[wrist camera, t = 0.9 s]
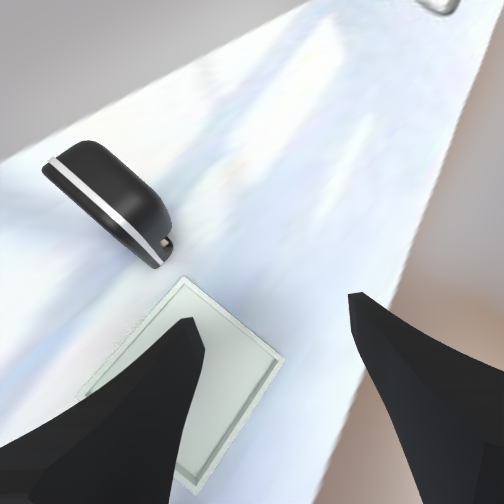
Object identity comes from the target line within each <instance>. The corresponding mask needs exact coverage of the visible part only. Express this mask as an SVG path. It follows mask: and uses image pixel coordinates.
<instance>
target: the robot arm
mask: <svg viewBox="0 0 504 504" xmlns="http://www.w3.org/2000/svg"><path fill="white" fill-rule="evenodd" d="M348 302H349V313H350V324H351V332H352V335H353V338H354V341H355V344H356V346H357V349H358V352H359V354H360V356H361V358H362V360H363V362H364V364H365V366H366V368H367V370H368V372H369V374H370V376H371V378H372V380H373V382H374V384H375V386H376V388H377V390H378V392H379V394H380V396H381V398H382V400H383V402H384V404H385V407H386V409H387V411H388V413H389V416H390V418H391V420H392V423H393V425H394V428H395V430H396V433H397V435H398V438H399V441H400V443H401V445H402V448H403V451H404V453H405V456H406V459H407V461H408V464H409V467H410V469H411V472H412V474H413V477H414V480H415V483H416V485H417V488H418V490H419V494H420V496H421V499H422V502H423V504H504V371H501V370H499V369H497V368H494V367H492V366H489V365H487V364H485V363H483V362H481V361H478V360H476V359H474V358H471V357H469V356H467V355H465V354H463V353H461V352H459V351H456V350H455V349H453V348H451V347H449V346H447V345H445V344H443V343H441V342H439V341H437V340H435V339H433V338H431V337H430V336H428V335H426V334H424V333H422V332H421V331H419V330H417V329H416V328H414V327H413V326H411V325H409V324H408V323H406V322H404V321H403V320H401V319H400V318H398V317H397V316H395V315H394V314H392V313H391V312H390V311H388V310H387V309H385V308H384V307H382V306H381V305H380V304H378V303H377V302H376V301H374V300H373V299H371V298H370V297H369V296H367V295H366V294H364V293H363V292H359V293H352V294H348ZM204 355H205V347H204V344H203V342H202V339H201V336H200V334H199V331H198V329H197V326H196V323H195V321H194V318H193V317H188V318H181V319H180V320H179V321H177V322H176V323H175V324H174V325H173V326H172V327H171V328H170V329H169V330H167V331H166V332H165V333H164V334H163V335H162V336H161V337H160V338H159V339H158V340H157V341H156V342H155V343H154V344H153V345H151V346H150V347H149V348H148V349H147V350H146V351H145V352H144V353H143V354H141V355H140V356H139V357H138V358H137V359H136V360H135V361H133V362H132V363H131V364H130V365H129V366H128V367H127V368H125V369H124V370H123V371H122V372H120V373H119V374H118V375H117V376H115V377H114V378H113V379H111V380H110V381H109V382H107V383H106V384H105V385H103V386H102V387H101V388H99V389H98V390H96V391H95V392H93V393H92V394H90V395H89V396H88V397H86V398H85V399H83V400H82V401H80V402H79V403H77V404H76V405H74V406H73V407H71V408H70V409H68V410H66V411H65V412H63V413H62V414H60V415H58V416H57V417H55V418H53V419H52V420H50V421H48V422H47V423H45V424H43V425H41V426H40V427H38V428H36V429H34V430H33V431H31V432H29V433H27V434H25V435H23V436H22V437H20V438H18V439H16V440H14V441H12V442H10V443H8V444H7V445H5V446H3V447H1V448H0V504H168V503H169V497H170V491H171V486H172V481H173V476H174V470H175V465H176V460H177V455H178V451H179V446H180V442H181V437H182V433H183V429H184V425H185V422H186V418H187V415H188V412H189V409H190V406H191V403H192V400H193V397H194V393H195V390H196V387H197V384H198V381H199V377H200V374H201V371H202V366H203V361H204Z"/></svg>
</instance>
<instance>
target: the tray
mask: <svg viewBox="0 0 504 504" xmlns="http://www.w3.org/2000/svg"><path fill="white" fill-rule="evenodd" d="M188 317H193V318H194V321H195V323H196V326H197V329H198V331H199V334H200V336H201V339H202V342H203V344H204V347H205V355H204V361H203V366H202V371H201V374H200V377H199V381H198V384H197V387H196V390H195V393H194V397H193V400H192V403H191V406H190V409H189V412H188V415H187V418H186V422H185V425H184V429H183V433H182V437H181V442H180V446H179V451H178V455H177V460H176V465H175V470H174V476H173V478H174V479H175V480H176V481H178V482H179V483H180V484H181V485H183V486H184V487H185V488H186V489H187V490H189V491H190V492H191V493H192V494H194V495H195V496H196V497H197V495H198V494H199V492H200V491H201V489H202V488H203V486H204V485H205V483H206V482H207V480H208V479H209V477H210V475H211V474H212V472H213V471H214V469H215V468H216V466H217V465H218V463H219V462H220V460H221V459H222V457H223V455H224V454H225V452H226V451H227V449H228V448H229V446H230V445H231V443H232V442H233V440H234V439H235V437H236V436H237V434H238V432H239V431H240V429H241V428H242V426H243V425H244V423H245V422H246V420H247V419H248V417H249V416H250V414H251V412H252V411H253V409H254V408H255V406H256V405H257V403H258V402H259V400H260V399H261V397H262V396H263V394H264V393H265V391H266V389H267V388H268V386H269V385H270V383H271V382H272V380H273V379H274V377H275V376H276V374H277V373H278V371H279V369H280V368H281V366H282V365H283V363H284V362H285V359H284V358H283V357H282V356H280V355H279V354H278V353H277V352H276V351H274V350H273V349H272V348H271V347H270V346H268V345H267V344H266V343H265V342H263V341H262V340H261V339H260V338H259V337H257V336H256V335H255V334H254V333H253V332H251V331H250V330H249V329H248V328H246V327H245V326H244V325H243V324H242V323H240V322H239V321H238V320H237V319H236V318H234V317H233V316H232V315H231V314H229V313H228V312H227V311H226V310H225V309H223V308H222V307H221V306H220V305H219V304H217V303H216V302H215V301H214V300H212V299H211V298H210V297H209V296H208V295H206V294H205V293H204V292H203V291H202V290H200V289H199V288H198V287H197V286H195V285H194V284H193V283H192V282H191V281H189V280H188V279H187V278H186V277H185V276H183V277H182V278H181V279H180V280H179V281H178V283H177V284H176V285H175V286H174V287H173V288H172V289H171V290H170V291H169V293H168V294H167V295H166V296H165V297H164V298H163V299H162V300H161V301H160V303H159V304H158V305H157V306H156V307H155V308H154V309H153V310H152V311H151V313H150V314H149V315H148V316H147V317H146V318H145V319H144V320H143V321H142V322H141V324H140V325H139V326H138V327H137V328H136V329H135V330H134V331H133V332H132V334H131V335H130V336H129V337H128V338H127V339H126V340H125V341H124V342H123V344H122V345H121V346H120V347H119V348H118V349H117V350H116V351H115V352H114V354H113V355H112V356H111V357H110V358H109V359H108V360H107V361H106V362H105V364H104V365H103V366H102V367H101V368H100V369H99V370H98V371H97V372H96V374H95V375H94V376H93V377H92V378H91V379H90V380H89V381H88V382H87V384H86V385H85V386H84V387H83V388H82V389H81V390H80V391H79V392H78V394H77V395H76V396H75V398H76V399H77V400H78V401H82V400H83V399H85V398H86V397H88V396H89V395H90V394H92V393H93V392H95V391H96V390H98V389H99V388H101V387H102V386H103V385H105V384H106V383H107V382H109V381H110V380H111V379H113V378H114V377H115V376H117V375H118V374H119V373H120V372H122V371H123V370H124V369H125V368H127V367H128V366H129V365H130V364H131V363H132V362H133V361H135V360H136V359H137V358H138V357H139V356H140V355H141V354H143V353H144V352H145V351H146V350H147V349H148V348H149V347H150V346H151V345H153V344H154V343H155V342H156V341H157V340H158V339H159V338H160V337H161V336H162V335H163V334H164V333H165V332H166V331H167V330H169V329H170V328H171V327H172V326H173V325H174V324H175V323H176V322H177V321H179V320H180V319H181V318H188Z"/></svg>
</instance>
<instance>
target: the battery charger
mask: <svg viewBox="0 0 504 504" xmlns="http://www.w3.org/2000/svg"><path fill="white" fill-rule="evenodd" d="M48 162H49V163H47V164H46V165H45V166H44V167H42V173H43V174H44V175H45V176H46V177H47V178H48V179H49V180H50V181H51V182H52V183H54V184H55V185H56V186H57V187H58V188H59V189H60V190H61V191H63V192H64V193H65V194H66V195H67V196H68V197H69V198H70V199H72V200H73V201H74V202H75V203H76V204H77V205H78V206H79V207H81V208H82V209H83V210H84V211H85V212H86V213H87V214H88V215H90V216H91V217H92V218H93V219H94V220H95V221H96V222H97V223H99V224H100V225H101V226H102V227H103V228H104V229H105V230H107V231H108V232H109V233H110V234H111V235H112V236H113V237H115V238H116V239H117V240H118V241H119V242H121V243H122V244H123V245H124V246H125V247H127V248H128V249H129V250H130V251H132V252H133V253H134V254H135V255H137V256H138V257H139V258H140V259H142V260H143V261H144V262H146V263H147V264H148V265H149V266H151V267H152V268H153V269H156V268H158V267H159V266H161V265H162V264H163V263H164V261H165V260H166V259H167V258H168V257H169V255H170V254H171V252H172V250H173V244H172V242H171V241H170V239H169V238H168V237H167V234H168V233H169V232H170V230H171V228H172V223H171V219H170V216H169V213H168V211H167V209H166V207H165V205H164V203H163V201H162V200H161V198H160V197H159V196H158V194H157V193H156V192H155V191H154V190H153V189H152V188H150V187H149V186H148V185H147V184H146V183H145V182H144V181H143V180H141V179H140V178H139V177H138V176H137V175H136V174H135V173H134V172H133V171H131V170H130V169H129V168H128V167H127V166H126V165H125V164H123V163H122V162H121V161H120V160H119V159H118V158H117V157H116V156H114V155H113V154H112V153H111V152H110V151H109V150H108V149H106V148H105V147H104V146H102V145H101V144H99V143H97V142H94V141H90V140H88V141H81V142H79V143H77V144H75V145H74V146H72V147H71V148H69V149H68V150H66V151H65V152H63V153H62V154H61V155H59V156H58V157H56V158H55V157H52V158H51V159H49V160H48Z"/></svg>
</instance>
